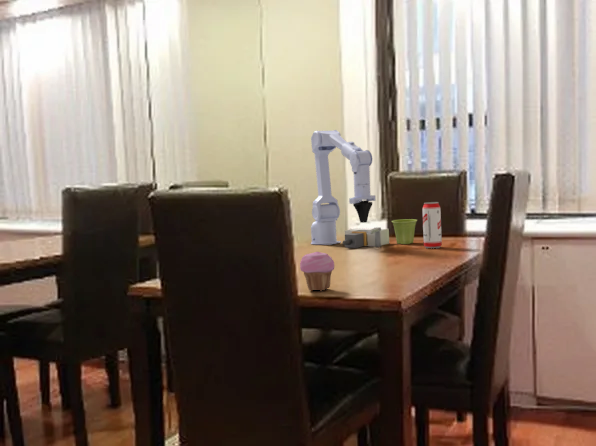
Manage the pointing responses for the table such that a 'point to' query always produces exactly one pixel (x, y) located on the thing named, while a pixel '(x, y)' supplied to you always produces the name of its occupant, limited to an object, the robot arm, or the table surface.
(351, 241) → the plug
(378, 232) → the socket block
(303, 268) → the cupcake
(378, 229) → the flat metal lever
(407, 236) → the plant pot
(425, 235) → the beer can
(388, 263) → the table surface
